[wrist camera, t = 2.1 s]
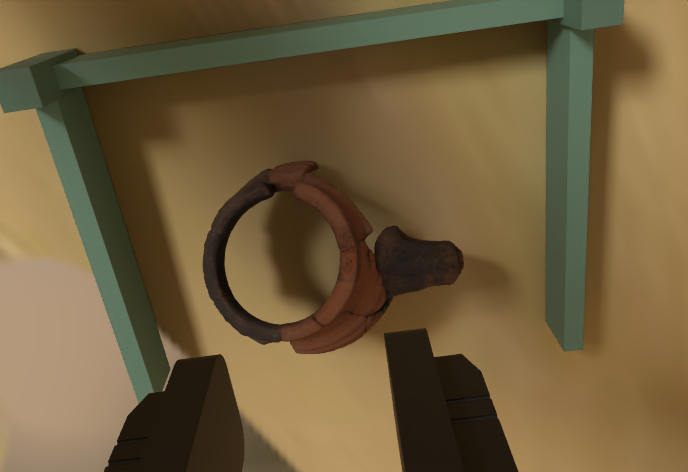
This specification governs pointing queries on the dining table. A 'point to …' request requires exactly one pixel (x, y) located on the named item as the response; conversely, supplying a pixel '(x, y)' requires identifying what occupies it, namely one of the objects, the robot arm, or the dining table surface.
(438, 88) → the dining table surface
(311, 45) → the teal bars
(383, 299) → the pottery mug
